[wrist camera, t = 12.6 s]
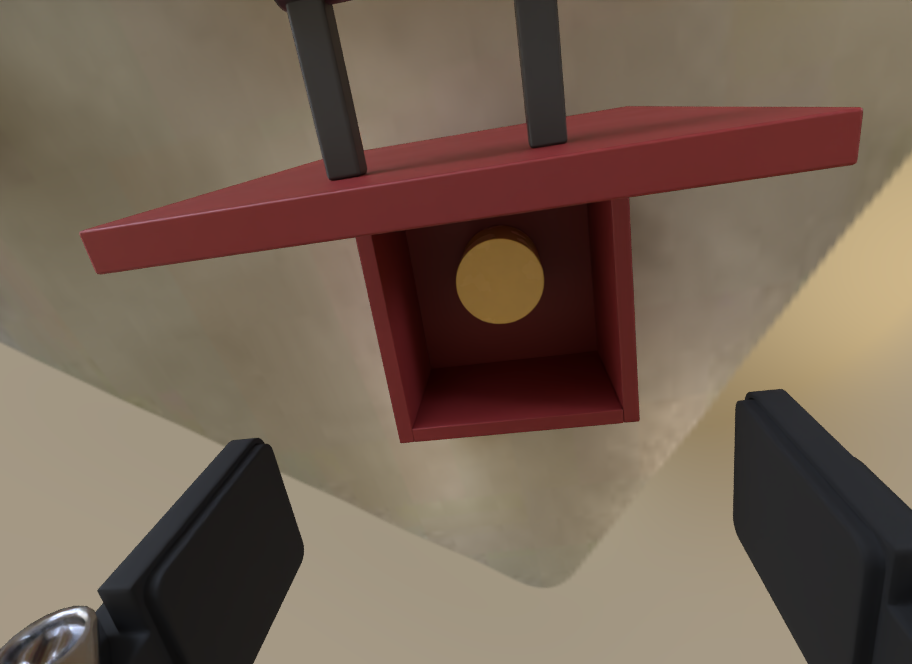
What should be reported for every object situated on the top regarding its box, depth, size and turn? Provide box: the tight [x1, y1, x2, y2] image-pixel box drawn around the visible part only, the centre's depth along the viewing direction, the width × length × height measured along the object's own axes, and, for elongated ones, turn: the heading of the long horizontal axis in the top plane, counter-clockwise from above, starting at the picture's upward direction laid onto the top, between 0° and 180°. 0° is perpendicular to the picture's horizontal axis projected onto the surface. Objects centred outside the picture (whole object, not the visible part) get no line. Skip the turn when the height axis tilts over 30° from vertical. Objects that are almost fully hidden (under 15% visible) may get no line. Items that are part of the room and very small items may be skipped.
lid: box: [79, 0, 863, 274], centre depth 15 cm, size 16×13×6 cm
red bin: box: [356, 198, 640, 443], centre depth 30 cm, size 15×13×9 cm
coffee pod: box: [456, 225, 544, 324], centre depth 31 cm, size 5×5×4 cm
